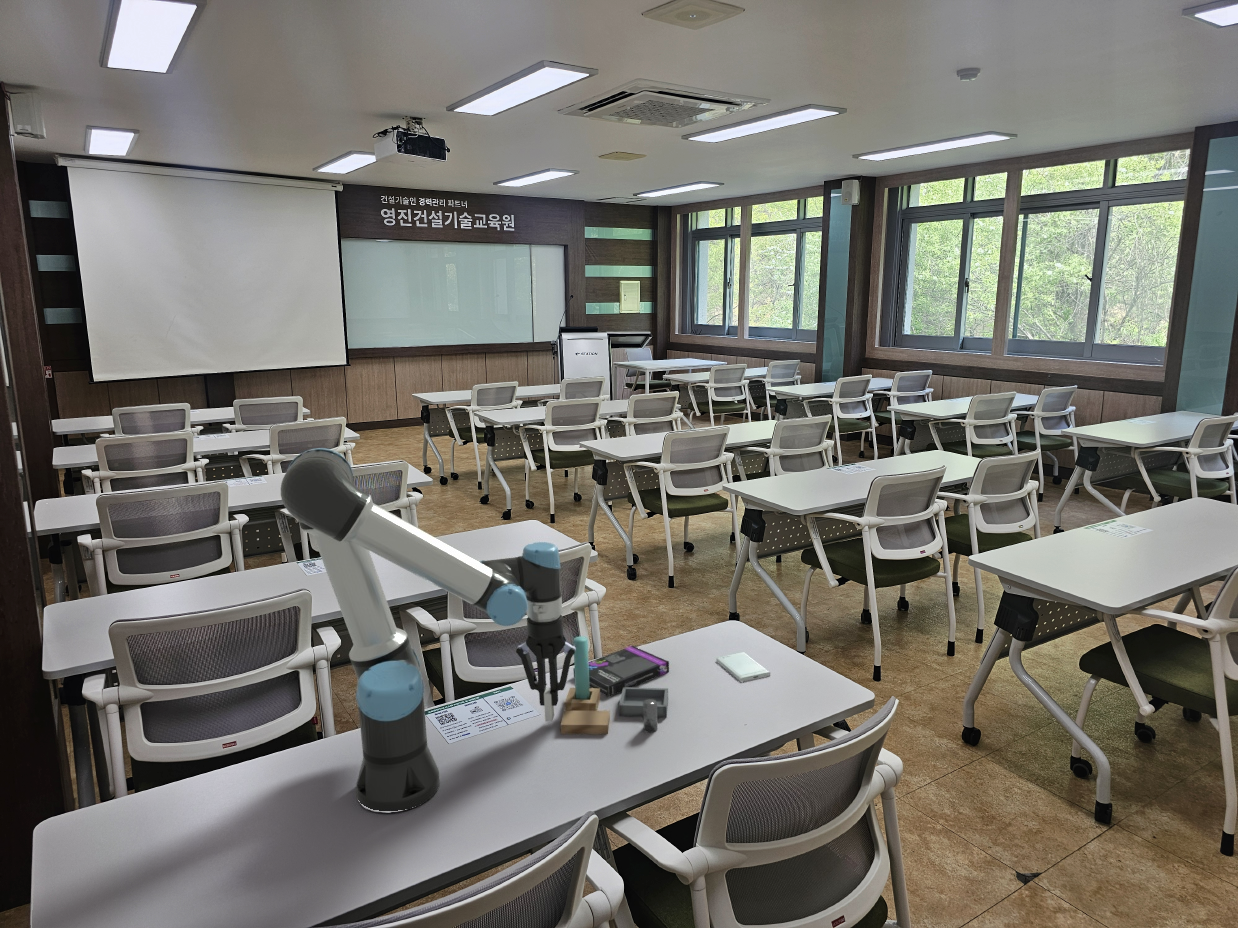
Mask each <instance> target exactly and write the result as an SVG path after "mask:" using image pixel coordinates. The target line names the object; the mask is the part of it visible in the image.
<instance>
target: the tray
mask: <svg viewBox="0 0 1238 928" xmlns="http://www.w3.org/2000/svg"><path fill="white" fill-rule="evenodd" d="M647 699H653V700H656V701H657V718H667V717H668V706H669V688H667V687H665V688H661V687H623V690H622V692H621V696H620V700H619V704H618V709H619V710H618V713H619V714H618V715H619V717H636V718H637V717H638V718H643V701H645V700H647Z"/></svg>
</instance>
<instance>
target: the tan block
mask: <svg viewBox="0 0 1238 928" xmlns="http://www.w3.org/2000/svg"><path fill="white" fill-rule="evenodd" d="M610 717H611V715H610V710H597V711H565V710H563V713H562V718H561V723H560V734H562V735H564V734H565V735H573V734H574V735H608V734H609V731H610V729H609V728H610V722H611V718H610Z"/></svg>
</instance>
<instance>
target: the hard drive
mask: <svg viewBox="0 0 1238 928" xmlns="http://www.w3.org/2000/svg"><path fill="white" fill-rule="evenodd" d="M715 661H716V662H717V664H719V665H720V666H721V668H723V669H725V670H726V671H727V672H729V674H731V675H732V676H733V677H735V679H737V681H739V682H740V683H744V682H747V681H752V680H756V679H760V678H767V677H770V676H771V672H770V671H769V670H767V668H765V667H764V666H763V665H761V664H760V663H758V662H757V661H756V660H755V659H753V658H752V657H751V656H750V655H748V654H747V653H746V652H744V651H741V652H737V653H733V654H728V655H723V656H718V657H716V659H715Z"/></svg>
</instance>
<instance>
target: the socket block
mask: <svg viewBox="0 0 1238 928" xmlns="http://www.w3.org/2000/svg"><path fill="white" fill-rule="evenodd" d="M589 690H590V700H579V699H576V694H575V687H569V690H568V692H567V694H566V698H565V700H564V711H598V708H599V704H600V701H601V692H600V688H592V687H589Z"/></svg>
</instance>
